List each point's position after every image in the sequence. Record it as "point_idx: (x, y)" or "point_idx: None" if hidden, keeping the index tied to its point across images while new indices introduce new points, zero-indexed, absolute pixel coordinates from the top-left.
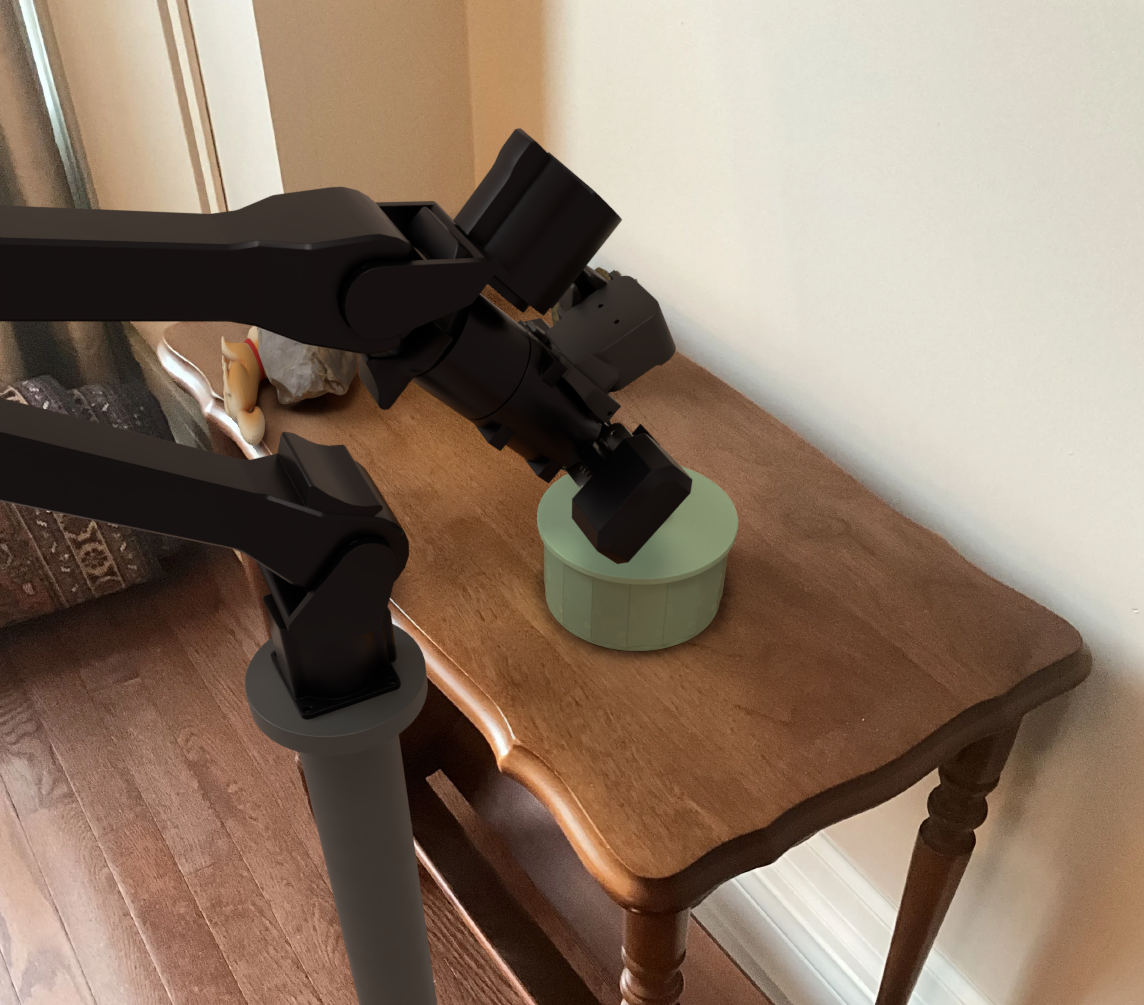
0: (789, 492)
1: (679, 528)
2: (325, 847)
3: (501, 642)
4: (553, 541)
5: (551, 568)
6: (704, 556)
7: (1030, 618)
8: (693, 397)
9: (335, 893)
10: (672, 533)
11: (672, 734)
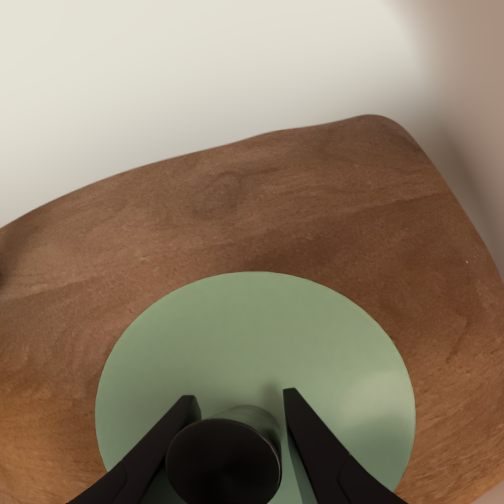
0: (166, 198)
1: (307, 381)
2: None
3: None
4: None
5: None
6: (388, 364)
7: (368, 121)
8: (35, 228)
9: None
10: (318, 398)
11: (460, 424)
